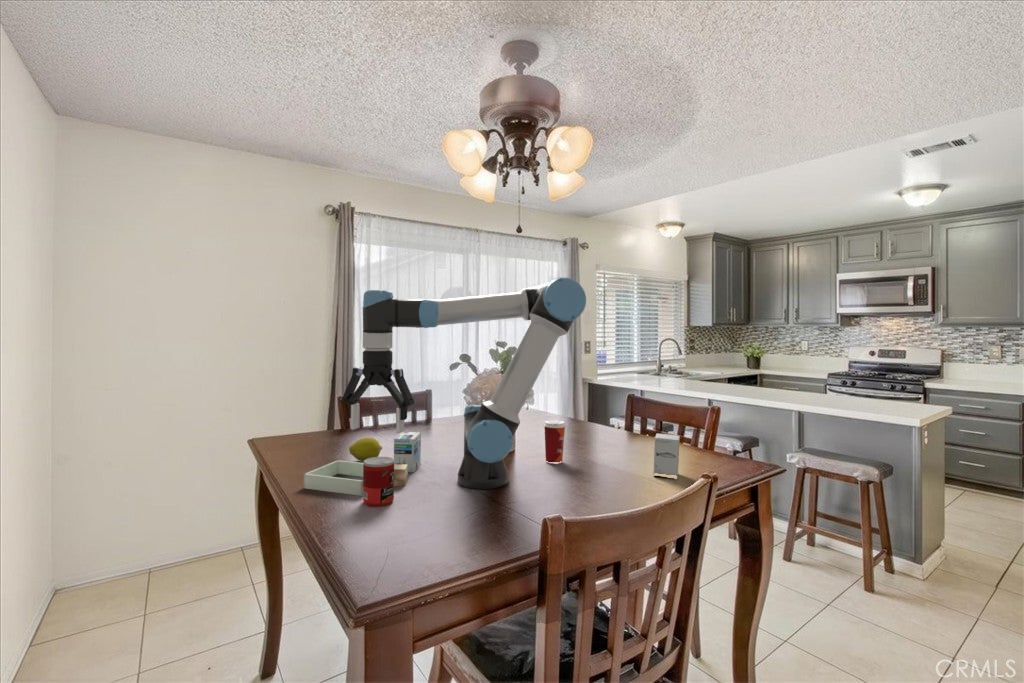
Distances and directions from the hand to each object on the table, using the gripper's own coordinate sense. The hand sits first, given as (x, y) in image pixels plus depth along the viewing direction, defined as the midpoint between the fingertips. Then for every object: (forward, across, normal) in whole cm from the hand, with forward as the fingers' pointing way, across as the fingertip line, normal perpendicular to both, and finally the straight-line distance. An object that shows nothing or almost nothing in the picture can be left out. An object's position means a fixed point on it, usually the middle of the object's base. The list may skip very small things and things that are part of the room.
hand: (377, 430), depth 127 cm
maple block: (+19, +2, -14) cm, 24 cm away
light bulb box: (+19, +8, -30) cm, 36 cm away
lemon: (+19, +25, -31) cm, 44 cm away
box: (+19, +15, -9) cm, 26 cm away
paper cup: (+19, -36, -53) cm, 67 cm away
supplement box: (+19, -73, -50) cm, 91 cm away
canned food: (+19, -1, 0) cm, 19 cm away
